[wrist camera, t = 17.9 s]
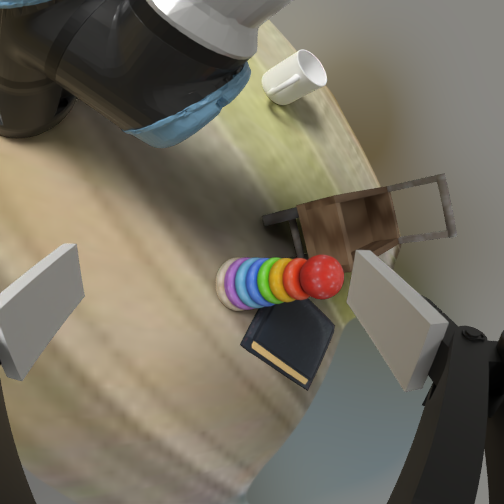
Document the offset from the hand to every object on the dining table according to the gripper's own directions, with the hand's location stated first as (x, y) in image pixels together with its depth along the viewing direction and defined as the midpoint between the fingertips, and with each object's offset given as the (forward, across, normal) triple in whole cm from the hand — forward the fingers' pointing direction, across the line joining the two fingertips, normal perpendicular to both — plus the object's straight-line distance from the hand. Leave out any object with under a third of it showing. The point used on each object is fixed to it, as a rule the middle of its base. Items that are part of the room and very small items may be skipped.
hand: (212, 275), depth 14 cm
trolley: (+41, +13, -10) cm, 45 cm away
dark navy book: (+34, +12, -26) cm, 45 cm away
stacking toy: (+31, +2, -15) cm, 34 cm away
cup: (+52, +8, +16) cm, 55 cm away
